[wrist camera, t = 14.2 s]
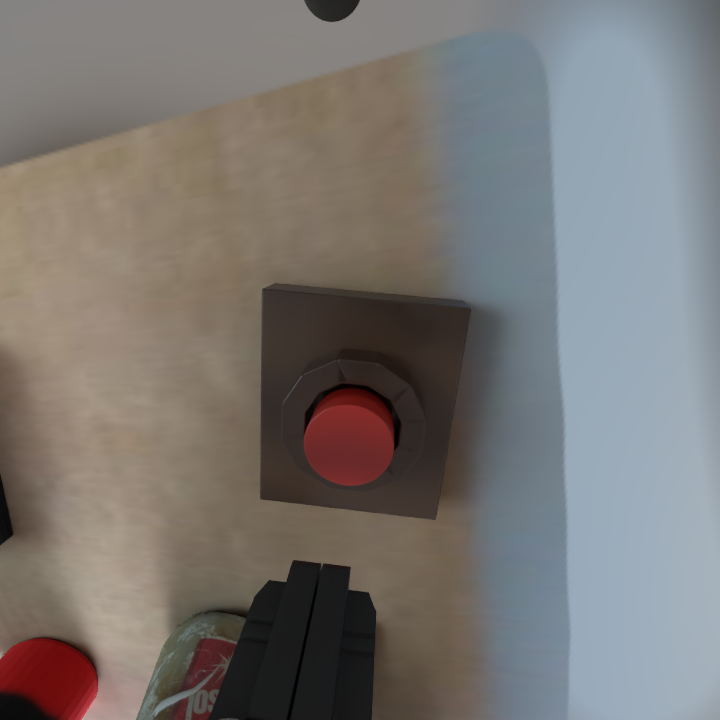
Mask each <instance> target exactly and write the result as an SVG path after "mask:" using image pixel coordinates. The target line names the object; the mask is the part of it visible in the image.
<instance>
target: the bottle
mask: <svg viewBox="0 0 720 720" xmlns="http://www.w3.org/2000/svg"><path fill="white" fill-rule="evenodd" d="M245 622H246V618H245V617H244V616H243V617H239V616H237V614H235V615H232V614H226V613H218V612H215V611H209V613H207V614H203V613H202V612H201V613H200V614H199V615H198V616H193V615H192V616H190V617H189V619H188V621H186V622H184V623H183V624H182V625H178V626H177V629H176V630H175V631H174V632H173V633H172V634H171V635H170V636H169V638H168V639H167V641H166V642H165V644H164V646H163V648H162V650H161V653H160V655H159V658H158V661H157V663H156V666H155V669H154V672H153V675H152V677H151V680H150V683H149V686H148V689H147V691H146V694H145V697H144V700H143V702H142V705H141V708H140V710H139V713H138V716H137V719H136V720H207V719H208V717H209V715H210V713H211V711H212V709H213V706H214V703H215V701H216V698H217V695H218V693H219V690H220V687H221V685H222V682H223V679H224V677H225V674H226V671H227V669H228V666H229V663H230V661H231V658H232V655H233V653H234V650H235V647H236V645H237V642H238V640H239V638H240V634H241V631H242V629H243V626H244V623H245Z"/></svg>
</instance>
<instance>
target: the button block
mask: <svg viewBox="0 0 720 720" xmlns="http://www.w3.org/2000/svg"><path fill="white" fill-rule="evenodd" d="M470 312H471V309H470V308H469V307H468V306H467V305H466V303H465V302H464V301H459V300H449V299H438V298H427V297H416V296H406V295H395V294H384V293H374V292H363V291H352V290H342V289H331V288H320V287H309V286H299V285H288V284H277V283H275V284H272V285H270V286H268V287H266V288H263V289H262V351H261V473H260V498H261V499H263V500H272V501H280V502H288V503H297V504H305V505H314V506H322V507H330V508H339V509H347V510H356V511H364V512H372V513H381V514H389V515H398V516H406V517H414V518H423V519H431V520H435V519H436V516H437V510H438V504H439V498H440V492H441V486H442V480H443V474H444V468H445V462H446V456H447V450H448V444H449V438H450V432H451V426H452V420H453V414H454V408H455V402H456V396H457V390H458V384H459V378H460V372H461V366H462V360H463V354H464V348H465V342H466V336H467V330H468V324H469V318H470ZM344 388H359V389H363V390H367V391H369V392H371V393H373V394H375V395H377V396H378V397H379V398H380V399H382V400H383V401H384V402H385V404H386V405H387V406H388V408H389V410H390V411H391V414H392V417H393V421H394V454H393V458H392V461H391V463H390V465H389V466H388V468H387V469H386V470H385V472H384V473H383V474H382V475H380V476H379V477H378V478H376V479H375V480H373V481H371V482H368V483H365V484H362V485H354V486H348V485H340V484H337V483H334V482H331V481H329V480H327V479H325V478H324V477H322V476H321V475H319V474H318V473H317V472H316V471H315V470H314V469H313V467H312V466H311V465H310V463H309V461H308V459H307V457H306V454H305V450H304V435H305V432H306V429H307V427H308V424H309V422H310V420H311V417H312V415H313V413H314V411H315V408H316V407H317V405H318V403H319V402H320V401H321V400H322V399H323V398H324V397H325V396H327V395H328V394H330V393H332V392H334V391H336V390H339V389H344Z"/></svg>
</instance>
